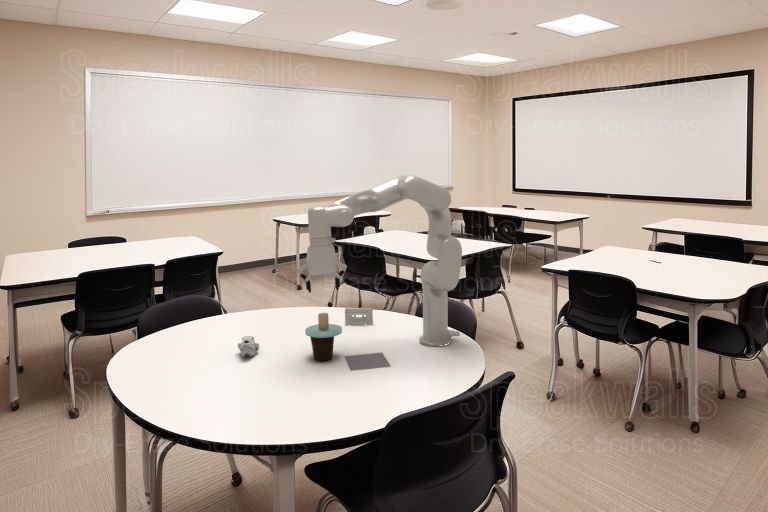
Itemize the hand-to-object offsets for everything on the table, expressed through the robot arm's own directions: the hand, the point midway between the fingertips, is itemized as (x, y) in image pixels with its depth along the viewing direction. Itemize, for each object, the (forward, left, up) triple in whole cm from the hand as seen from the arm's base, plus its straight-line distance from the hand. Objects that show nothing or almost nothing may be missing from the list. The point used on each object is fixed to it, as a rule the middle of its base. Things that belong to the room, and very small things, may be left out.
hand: (323, 290), depth 184 cm
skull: (+27, -11, -25) cm, 39 cm away
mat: (-13, +8, -25) cm, 30 cm away
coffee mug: (+1, 0, -25) cm, 25 cm away
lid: (0, 0, -15) cm, 15 cm away
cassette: (-18, -36, -25) cm, 48 cm away
